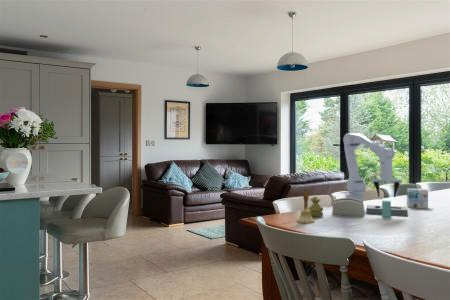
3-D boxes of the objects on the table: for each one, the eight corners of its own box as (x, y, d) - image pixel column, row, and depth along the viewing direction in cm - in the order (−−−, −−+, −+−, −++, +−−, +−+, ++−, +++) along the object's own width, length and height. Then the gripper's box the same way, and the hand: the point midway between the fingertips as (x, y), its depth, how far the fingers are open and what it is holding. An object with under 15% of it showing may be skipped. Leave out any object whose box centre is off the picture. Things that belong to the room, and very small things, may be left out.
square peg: (382, 216, 194) (382, 201, 194) (382, 215, 198) (382, 200, 198) (390, 217, 192) (390, 201, 192) (390, 216, 196) (390, 200, 196)
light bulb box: (408, 207, 223) (408, 189, 223) (406, 206, 230) (406, 188, 230) (428, 208, 220) (428, 189, 220) (426, 206, 227) (426, 188, 227)
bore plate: (366, 213, 203) (366, 208, 203) (367, 210, 214) (367, 205, 214) (407, 215, 196) (407, 210, 196) (406, 212, 207) (406, 206, 207)
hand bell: (302, 219, 189) (301, 187, 189) (317, 221, 184) (317, 188, 184) (294, 222, 183) (293, 188, 183) (309, 224, 177) (309, 189, 177)
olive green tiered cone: (323, 217, 193) (323, 198, 193) (308, 217, 194) (308, 197, 194) (322, 215, 200) (322, 196, 200) (308, 215, 202) (308, 196, 201)
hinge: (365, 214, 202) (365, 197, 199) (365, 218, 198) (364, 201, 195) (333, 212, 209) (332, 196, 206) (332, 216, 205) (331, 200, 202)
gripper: (371, 171, 199) (371, 197, 199) (401, 171, 193) (402, 198, 193) (371, 170, 205) (372, 195, 205) (401, 170, 200) (401, 196, 200)
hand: (386, 196), depth 200 cm, fingers open, 7 cm apart
